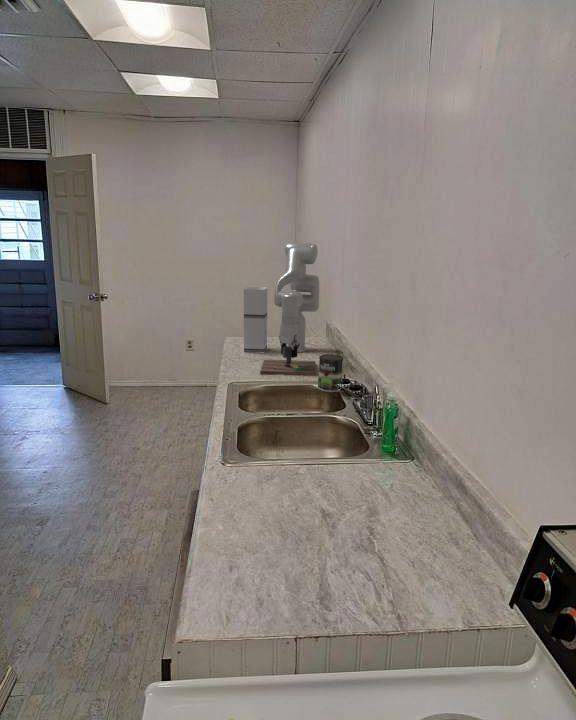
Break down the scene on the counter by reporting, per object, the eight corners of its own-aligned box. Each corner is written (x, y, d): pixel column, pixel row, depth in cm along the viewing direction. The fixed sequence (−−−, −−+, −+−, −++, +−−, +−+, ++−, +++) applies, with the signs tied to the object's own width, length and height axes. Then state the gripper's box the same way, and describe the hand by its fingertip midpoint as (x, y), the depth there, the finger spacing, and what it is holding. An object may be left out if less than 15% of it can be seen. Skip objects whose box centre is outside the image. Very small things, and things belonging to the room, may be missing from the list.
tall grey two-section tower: (267, 348, 294) (267, 287, 285) (264, 352, 283) (264, 289, 275) (247, 347, 295) (247, 286, 286) (243, 352, 284) (243, 288, 276)
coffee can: (336, 393, 214) (338, 361, 211) (314, 389, 219) (315, 357, 215) (345, 387, 223) (347, 356, 220) (324, 383, 228) (325, 353, 224)
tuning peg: (281, 364, 251) (281, 346, 249) (292, 363, 254) (292, 345, 252) (292, 370, 242) (292, 351, 240) (303, 368, 245) (303, 350, 243)
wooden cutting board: (264, 362, 263) (264, 357, 262) (314, 363, 262) (315, 358, 261) (260, 374, 241) (260, 368, 241) (315, 375, 240) (315, 369, 240)
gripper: (273, 318, 250) (272, 352, 255) (293, 323, 237) (293, 360, 241) (285, 316, 255) (285, 351, 259) (306, 322, 241) (305, 358, 245)
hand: (289, 355), depth 250 cm, fingers open, 8 cm apart
